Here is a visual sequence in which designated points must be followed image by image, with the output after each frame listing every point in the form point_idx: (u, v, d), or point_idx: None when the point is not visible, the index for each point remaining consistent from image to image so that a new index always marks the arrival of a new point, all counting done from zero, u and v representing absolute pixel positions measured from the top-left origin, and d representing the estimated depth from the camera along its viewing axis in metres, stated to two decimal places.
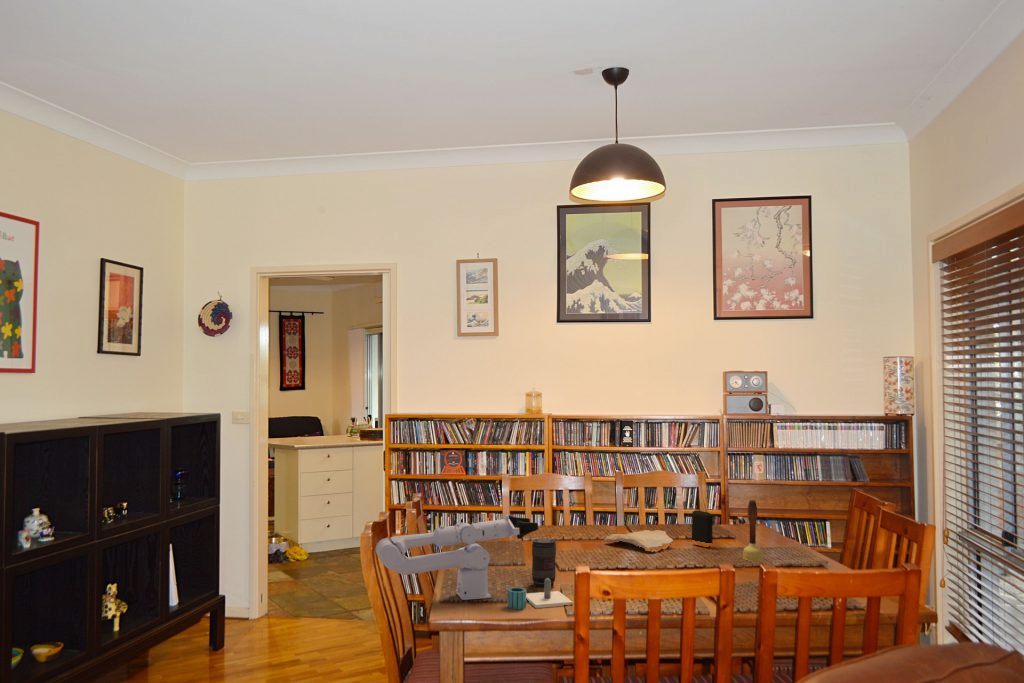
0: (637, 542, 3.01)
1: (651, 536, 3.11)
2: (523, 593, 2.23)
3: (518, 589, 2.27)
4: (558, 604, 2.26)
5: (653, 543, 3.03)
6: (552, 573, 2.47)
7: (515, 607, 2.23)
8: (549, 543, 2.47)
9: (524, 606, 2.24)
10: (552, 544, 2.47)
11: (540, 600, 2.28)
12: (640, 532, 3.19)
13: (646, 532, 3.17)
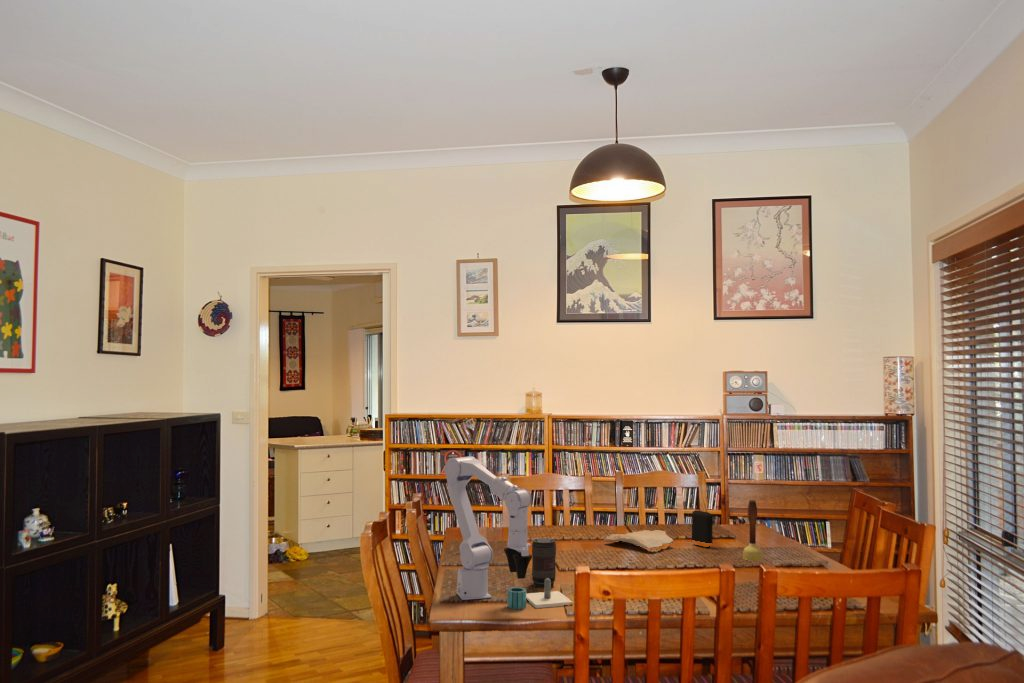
0: (638, 542, 3.01)
1: (651, 536, 3.12)
2: (523, 593, 2.23)
3: (518, 589, 2.27)
4: (558, 604, 2.26)
5: (654, 543, 3.03)
6: (552, 573, 2.47)
7: (515, 607, 2.23)
8: (549, 543, 2.47)
9: (524, 606, 2.24)
10: (552, 544, 2.47)
11: (540, 600, 2.28)
12: (639, 532, 3.19)
13: (646, 532, 3.17)
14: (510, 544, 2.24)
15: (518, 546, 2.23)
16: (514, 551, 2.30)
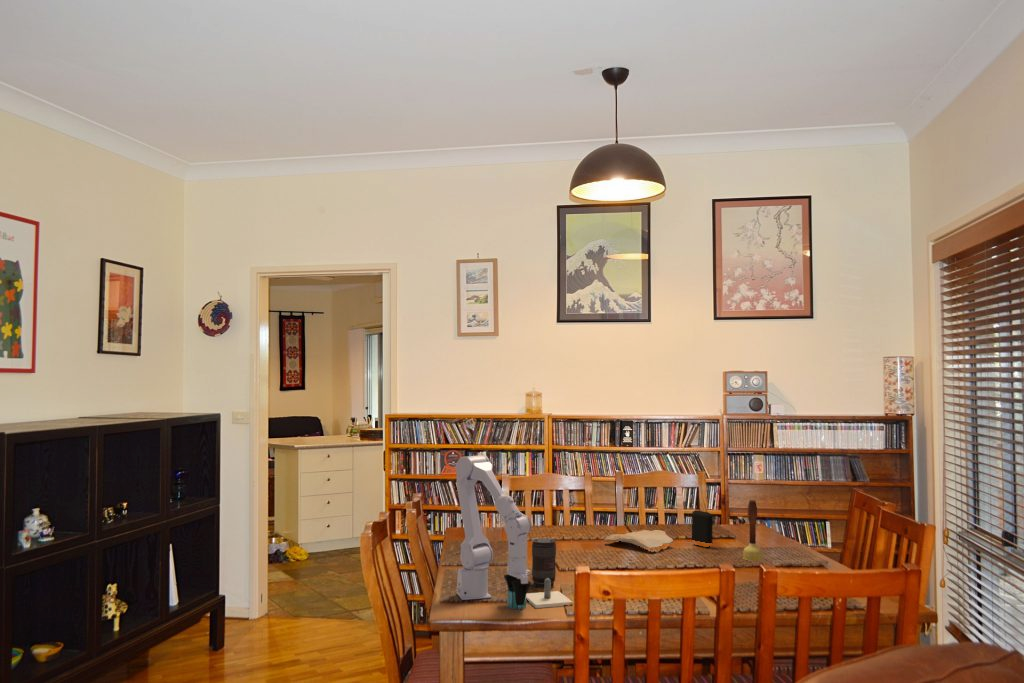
0: (638, 542, 3.01)
1: (651, 536, 3.12)
2: None
3: None
4: (558, 604, 2.26)
5: (654, 543, 3.03)
6: (552, 573, 2.47)
7: (515, 607, 2.23)
8: (549, 543, 2.47)
9: (524, 606, 2.24)
10: (552, 544, 2.47)
11: (540, 600, 2.28)
12: (639, 532, 3.19)
13: (645, 532, 3.17)
14: (510, 571, 2.24)
15: (518, 573, 2.23)
16: (514, 578, 2.29)
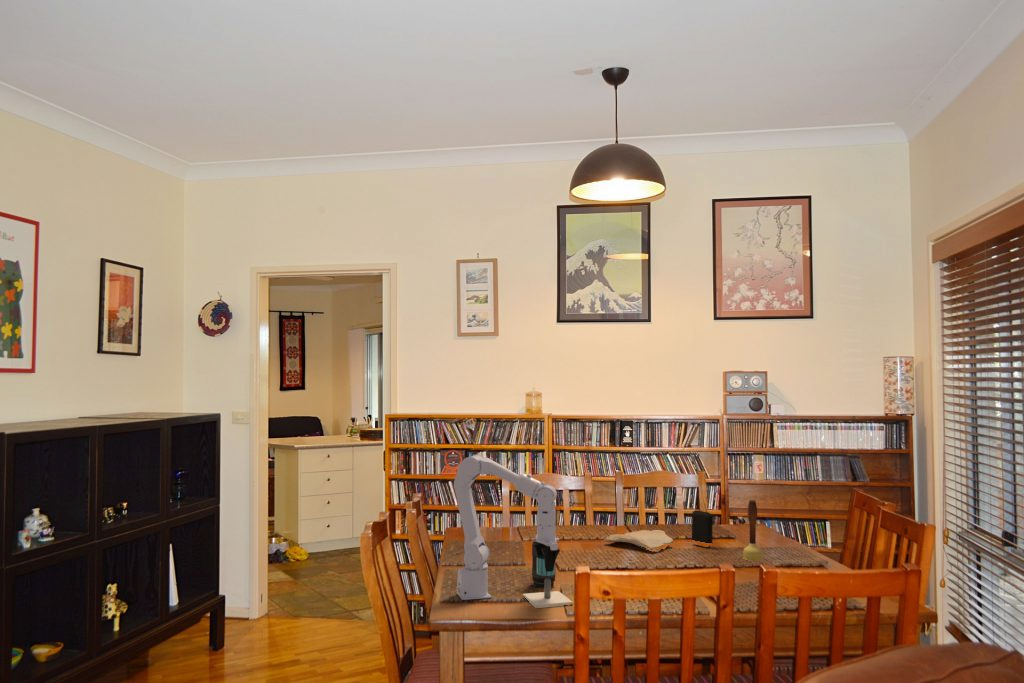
0: (639, 542, 3.01)
1: (651, 536, 3.12)
2: None
3: None
4: (558, 604, 2.26)
5: (655, 543, 3.03)
6: None
7: (544, 573, 2.29)
8: None
9: (553, 573, 2.30)
10: None
11: (540, 600, 2.28)
12: (638, 532, 3.19)
13: (644, 532, 3.17)
14: (539, 539, 2.30)
15: (547, 540, 2.29)
16: (543, 546, 2.35)
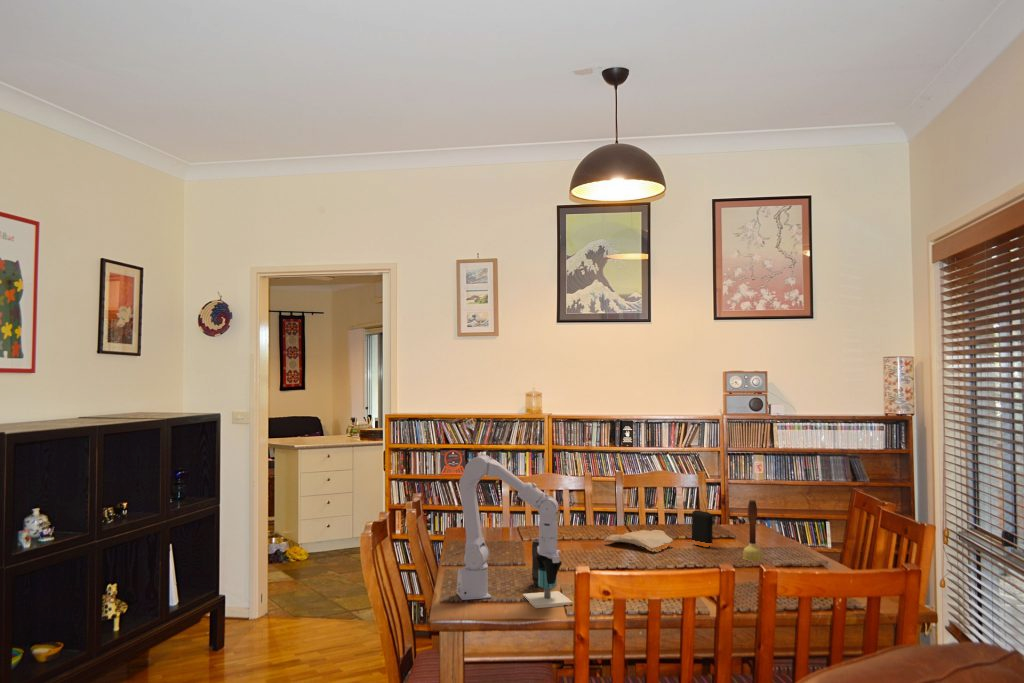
0: (640, 542, 3.01)
1: (651, 536, 3.12)
2: None
3: None
4: (558, 604, 2.26)
5: (655, 543, 3.03)
6: None
7: (546, 586, 2.29)
8: None
9: (555, 585, 2.30)
10: None
11: (540, 600, 2.28)
12: (638, 532, 3.19)
13: (644, 532, 3.18)
14: (541, 551, 2.30)
15: (549, 553, 2.29)
16: (545, 558, 2.35)
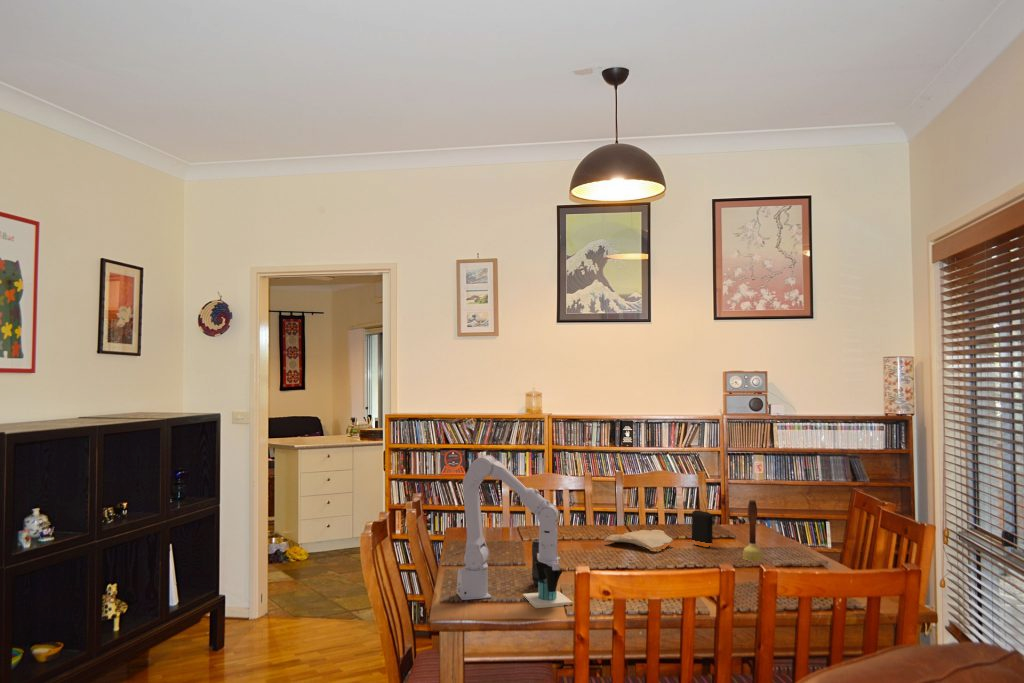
0: (640, 542, 3.01)
1: (650, 536, 3.12)
2: None
3: None
4: (558, 604, 2.26)
5: (655, 543, 3.03)
6: None
7: (546, 598, 2.29)
8: None
9: (555, 597, 2.30)
10: None
11: (540, 600, 2.28)
12: (637, 532, 3.19)
13: (644, 532, 3.18)
14: (541, 558, 2.30)
15: (549, 560, 2.29)
16: (544, 565, 2.36)
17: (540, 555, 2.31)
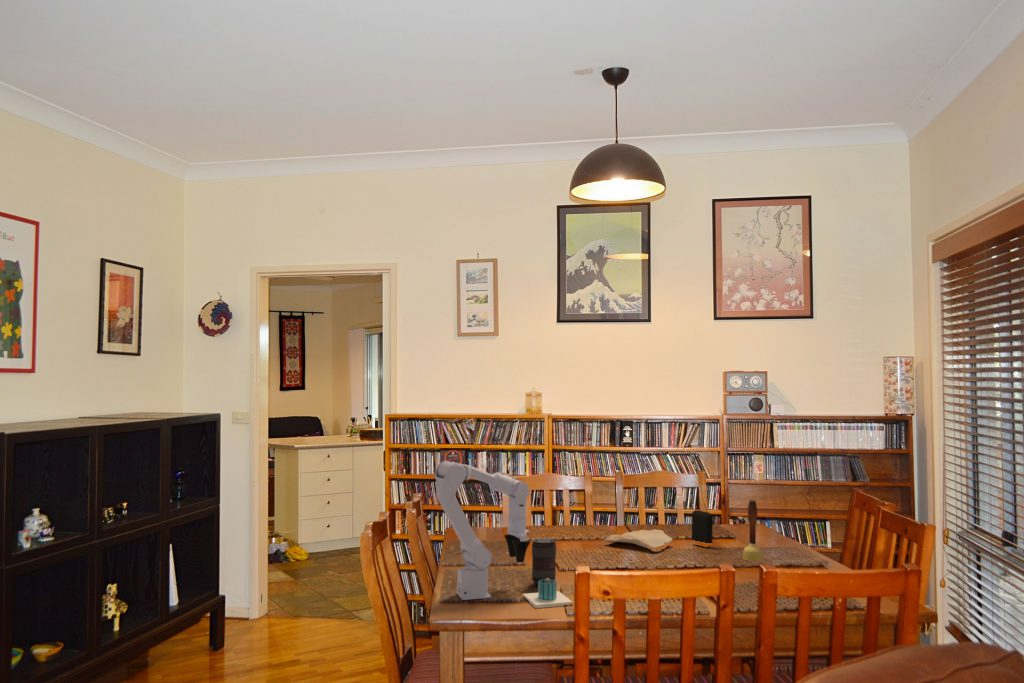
0: (641, 542, 3.01)
1: (650, 536, 3.12)
2: (553, 585, 2.30)
3: None
4: (558, 604, 2.26)
5: (656, 543, 3.04)
6: (552, 573, 2.47)
7: (546, 598, 2.29)
8: (549, 543, 2.47)
9: (555, 597, 2.30)
10: (552, 544, 2.47)
11: (540, 600, 2.28)
12: (637, 532, 3.19)
13: (643, 532, 3.18)
14: (510, 530, 2.42)
15: (517, 532, 2.41)
16: (514, 537, 2.48)
17: (509, 528, 2.43)
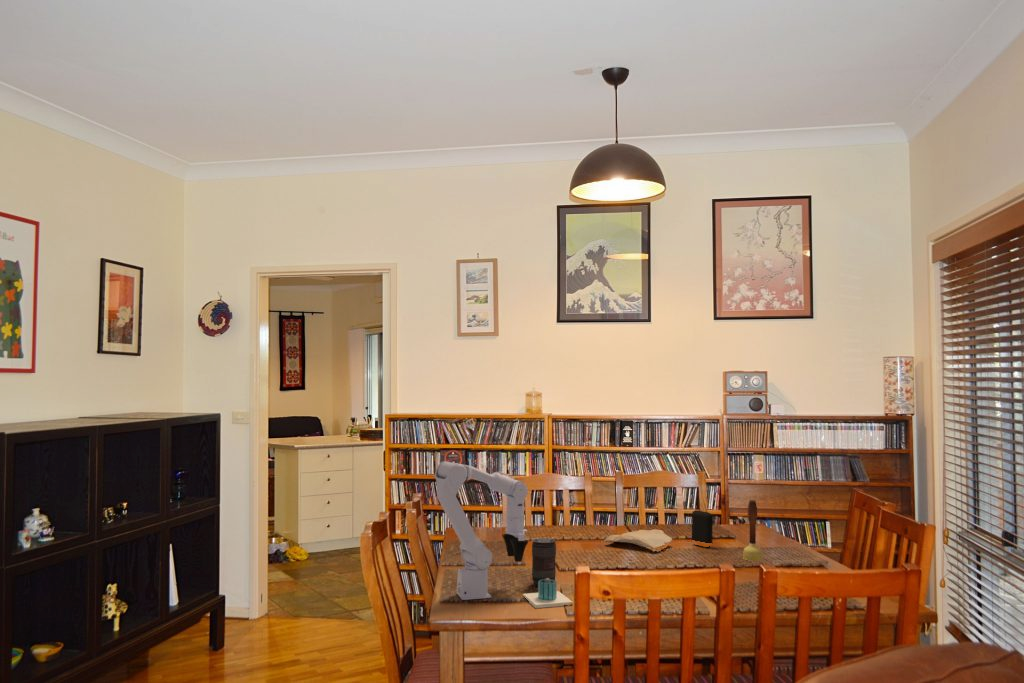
0: (642, 542, 3.01)
1: (650, 536, 3.13)
2: (553, 585, 2.30)
3: None
4: (558, 604, 2.26)
5: (656, 543, 3.04)
6: (552, 573, 2.47)
7: (546, 598, 2.29)
8: (549, 543, 2.47)
9: (555, 597, 2.30)
10: (552, 544, 2.47)
11: (540, 600, 2.28)
12: (636, 532, 3.19)
13: (643, 532, 3.18)
14: (508, 530, 2.43)
15: (515, 532, 2.42)
16: (512, 537, 2.48)
17: (507, 527, 2.43)
